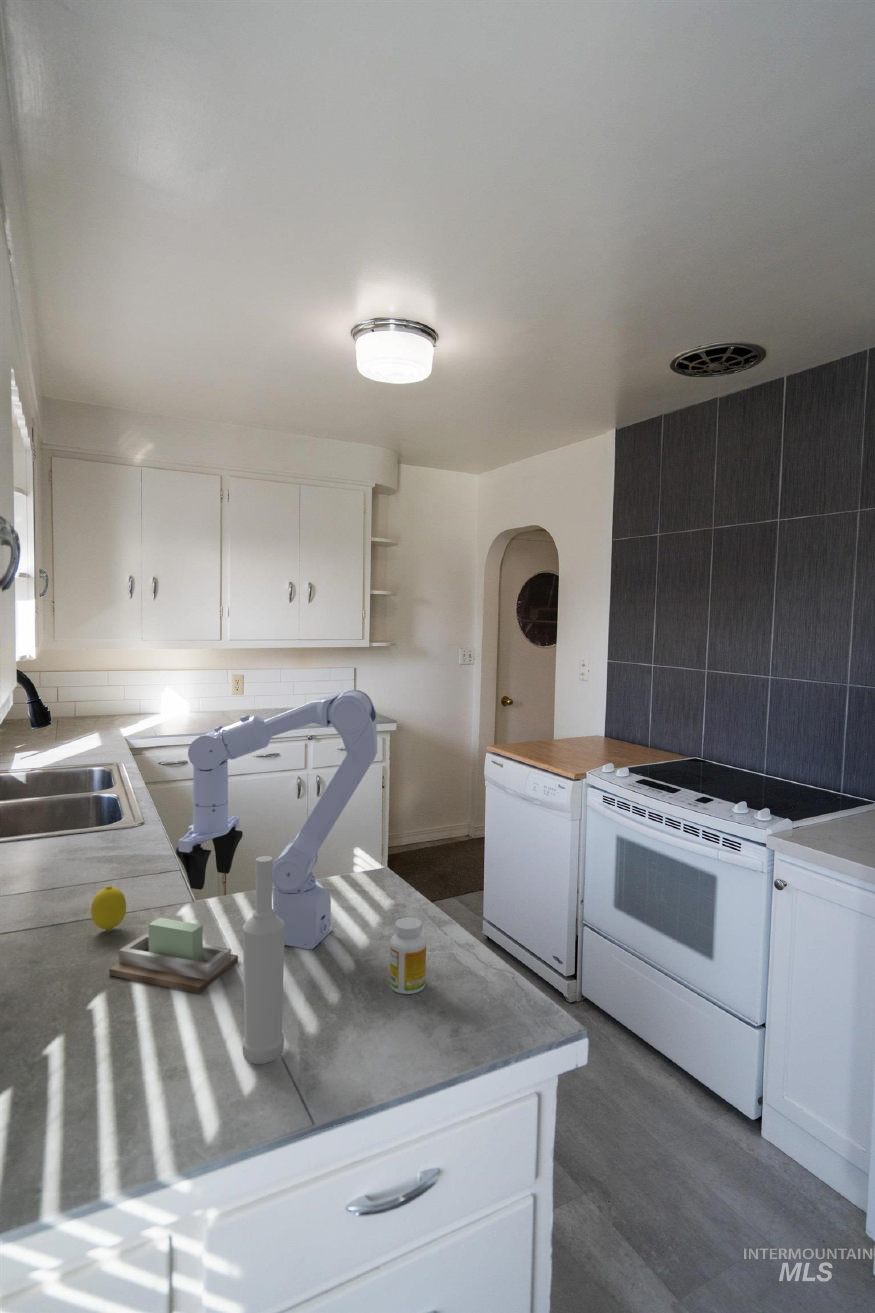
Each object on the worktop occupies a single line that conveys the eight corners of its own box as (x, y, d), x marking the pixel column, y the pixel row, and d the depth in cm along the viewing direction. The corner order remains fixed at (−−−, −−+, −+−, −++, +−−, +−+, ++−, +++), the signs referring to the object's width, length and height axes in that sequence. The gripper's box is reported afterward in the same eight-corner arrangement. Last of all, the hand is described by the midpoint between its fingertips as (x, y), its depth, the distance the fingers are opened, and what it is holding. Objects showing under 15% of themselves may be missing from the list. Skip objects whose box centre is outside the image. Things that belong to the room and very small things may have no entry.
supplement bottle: (430, 980, 106) (431, 918, 106) (417, 998, 101) (419, 933, 100) (397, 973, 108) (398, 912, 107) (384, 991, 103) (384, 927, 102)
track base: (238, 961, 111) (238, 943, 110) (199, 993, 101) (199, 973, 101) (154, 946, 115) (154, 928, 115) (109, 975, 106) (109, 956, 106)
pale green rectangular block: (202, 962, 108) (202, 925, 108) (192, 970, 106) (192, 932, 105) (159, 954, 110) (159, 917, 110) (148, 961, 108) (148, 924, 108)
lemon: (112, 940, 117) (112, 893, 117) (83, 936, 118) (83, 890, 118) (133, 925, 123) (133, 881, 122) (105, 922, 124) (105, 878, 123)
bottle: (246, 1040, 90) (247, 852, 89) (286, 1039, 91) (287, 851, 89) (238, 1066, 85) (238, 866, 84) (281, 1064, 85) (282, 866, 84)
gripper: (215, 790, 127) (215, 863, 128) (162, 811, 113) (163, 892, 114) (249, 794, 125) (249, 868, 126) (199, 815, 111) (199, 898, 112)
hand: (210, 880), depth 120 cm, fingers open, 7 cm apart
